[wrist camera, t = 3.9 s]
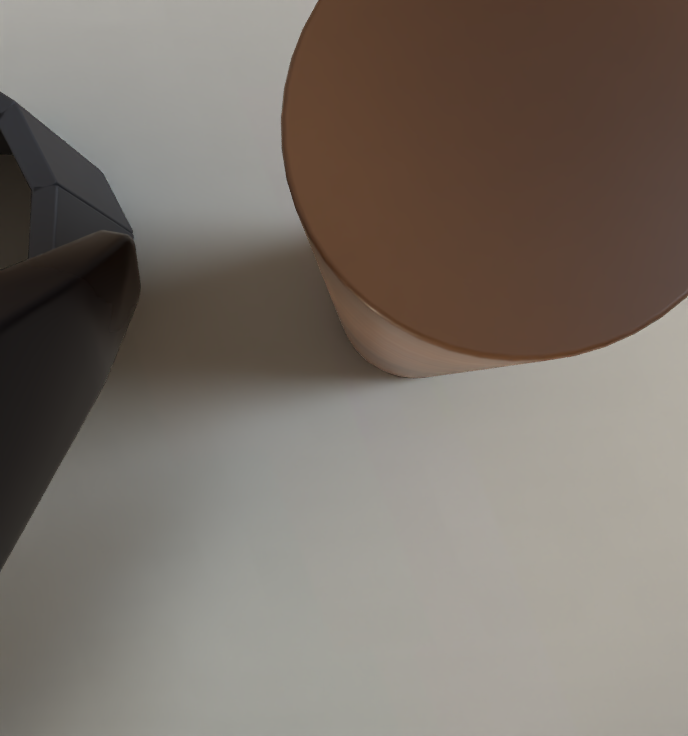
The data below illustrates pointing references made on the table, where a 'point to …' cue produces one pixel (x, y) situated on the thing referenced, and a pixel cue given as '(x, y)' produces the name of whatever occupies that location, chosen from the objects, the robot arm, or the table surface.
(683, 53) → the peg
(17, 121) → the tube
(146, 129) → the table surface
